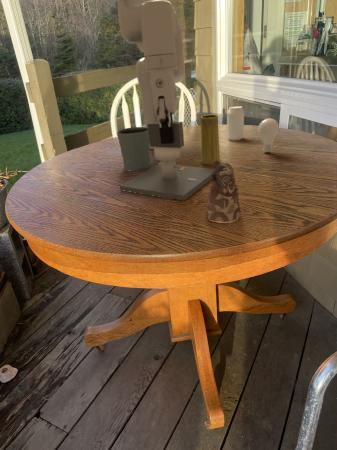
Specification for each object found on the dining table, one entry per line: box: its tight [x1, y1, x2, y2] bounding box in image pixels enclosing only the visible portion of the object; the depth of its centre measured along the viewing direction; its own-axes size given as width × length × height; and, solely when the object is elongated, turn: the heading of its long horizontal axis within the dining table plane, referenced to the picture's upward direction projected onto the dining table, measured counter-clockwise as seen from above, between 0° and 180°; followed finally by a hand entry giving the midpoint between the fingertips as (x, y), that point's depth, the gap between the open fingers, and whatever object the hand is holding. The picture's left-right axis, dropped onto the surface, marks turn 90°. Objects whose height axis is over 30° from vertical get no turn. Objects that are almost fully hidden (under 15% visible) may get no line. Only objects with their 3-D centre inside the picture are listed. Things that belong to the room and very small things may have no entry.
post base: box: [119, 159, 215, 202], centre depth 89 cm, size 20×20×7 cm
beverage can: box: [226, 105, 245, 142], centre depth 123 cm, size 6×6×12 cm
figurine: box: [205, 160, 241, 222], centre depth 66 cm, size 7×7×12 cm
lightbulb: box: [257, 117, 280, 154], centre depth 104 cm, size 6×6×11 cm
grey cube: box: [147, 121, 185, 162], centre depth 85 cm, size 9×9×9 cm
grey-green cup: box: [116, 126, 151, 172], centre depth 103 cm, size 10×10×12 cm
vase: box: [200, 114, 221, 166], centre depth 100 cm, size 6×6×14 cm
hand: (168, 140), depth 85 cm, fingers closed on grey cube, 3 cm apart
